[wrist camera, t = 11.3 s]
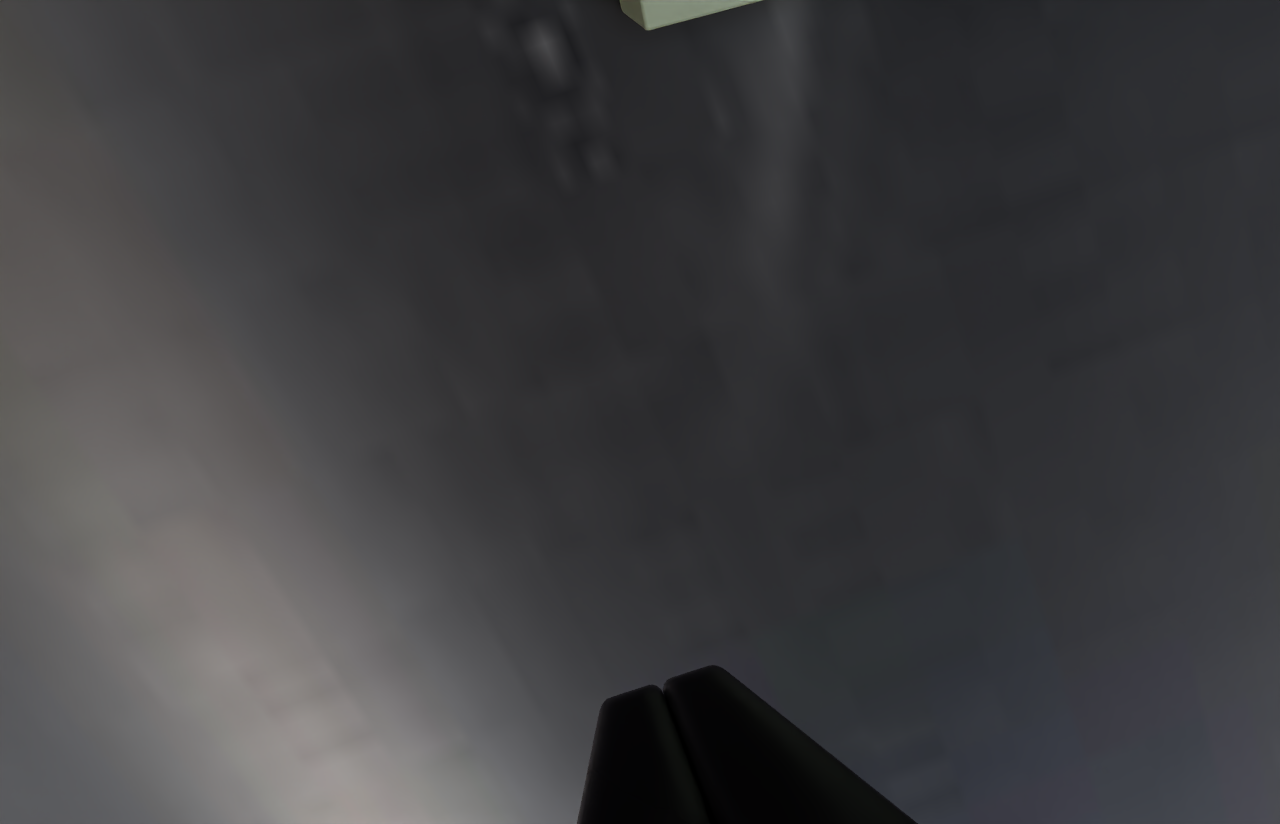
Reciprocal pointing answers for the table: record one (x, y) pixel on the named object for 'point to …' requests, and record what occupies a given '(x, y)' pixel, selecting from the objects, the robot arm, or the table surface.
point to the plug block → (674, 10)
